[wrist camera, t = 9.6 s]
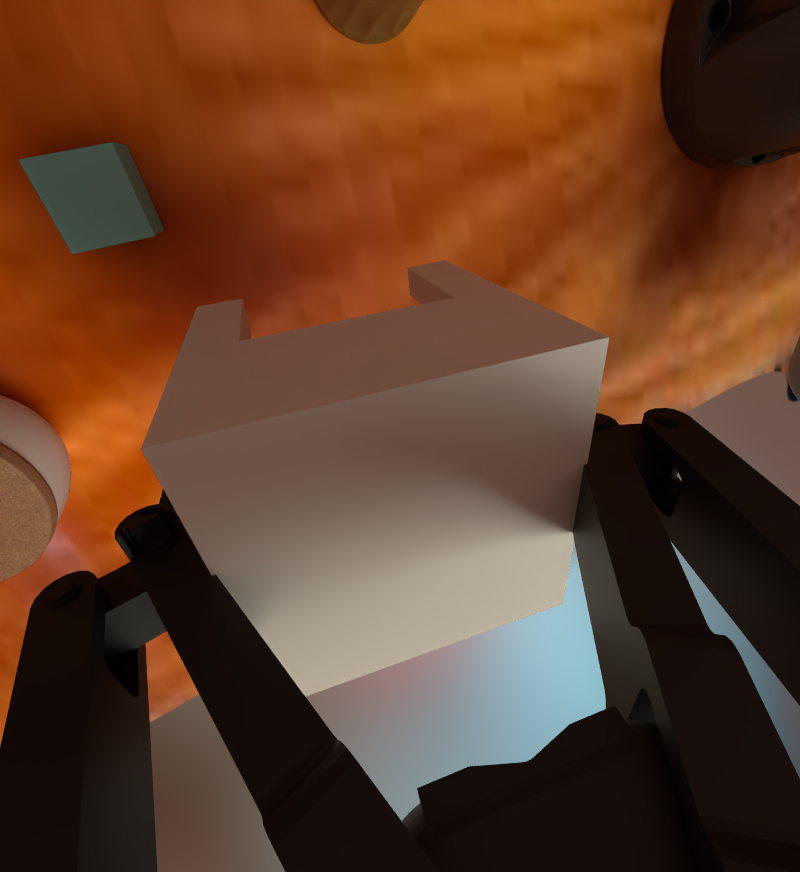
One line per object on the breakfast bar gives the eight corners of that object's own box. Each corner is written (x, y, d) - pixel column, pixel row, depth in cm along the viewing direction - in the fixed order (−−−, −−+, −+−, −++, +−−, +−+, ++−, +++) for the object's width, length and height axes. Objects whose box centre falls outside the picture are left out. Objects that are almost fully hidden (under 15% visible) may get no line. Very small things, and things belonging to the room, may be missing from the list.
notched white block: (454, 452, 21) (562, 603, 14) (271, 502, 19) (283, 704, 12) (445, 260, 16) (609, 337, 9) (197, 306, 14) (141, 448, 7)
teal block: (164, 229, 24) (154, 236, 22) (90, 245, 23) (72, 254, 21) (127, 145, 22) (112, 142, 19) (45, 160, 21) (18, 159, 19)
